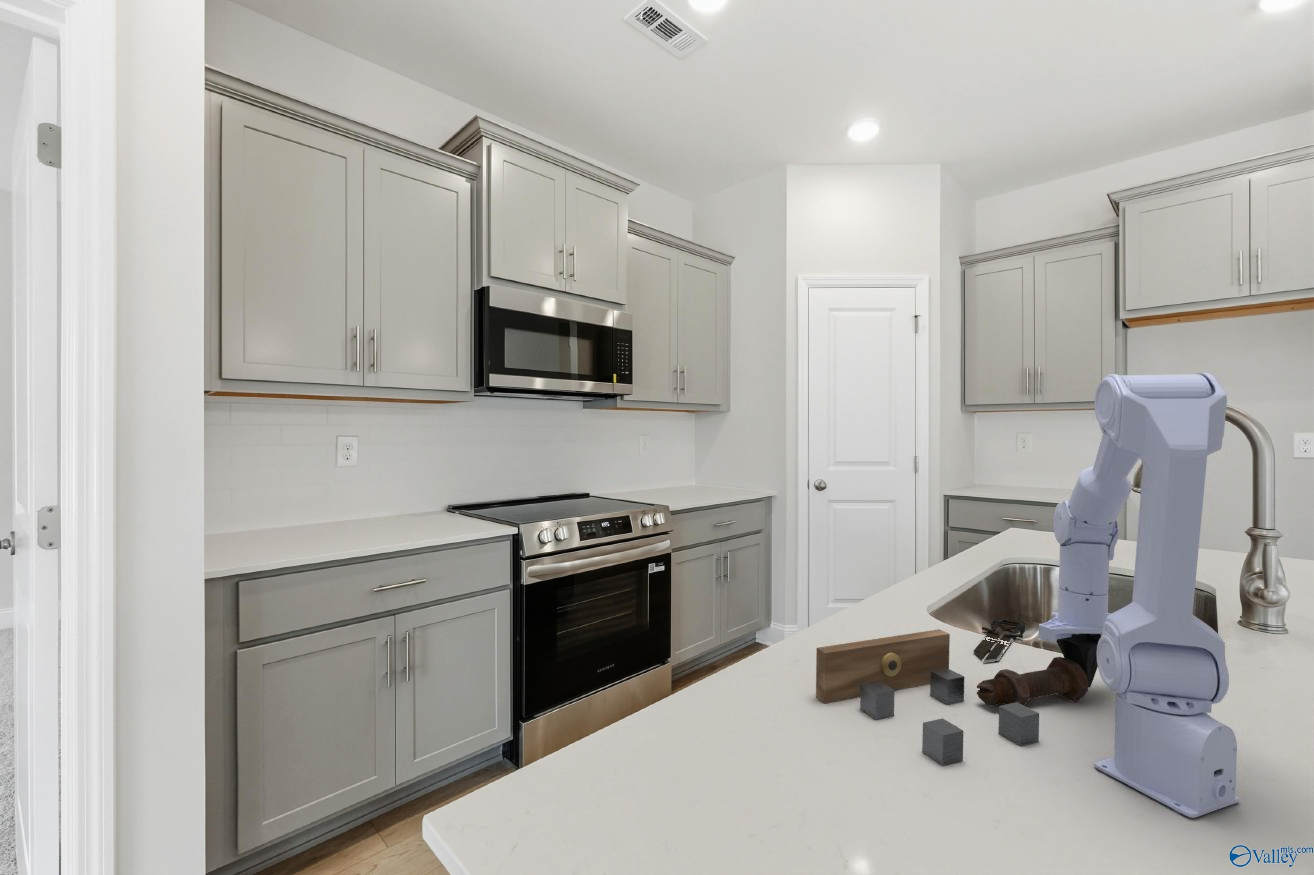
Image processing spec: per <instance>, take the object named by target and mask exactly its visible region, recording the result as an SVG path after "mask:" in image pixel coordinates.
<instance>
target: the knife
mask: <svg viewBox="0 0 1314 875" xmlns="http://www.w3.org/2000/svg"><path fill="white" fill-rule="evenodd" d="M1004 625H1008V626H1009V627H1006V626H1004ZM998 627H999V628H1001V629H1000V630H999V631H1001V632H1005V633H1003V635H1002V636H1001V637H1000V632H999V631H997V628H998ZM981 630H982V632H981V633H983V634H986V635H985V637H990V638H993V639H998V640H1003V641H1007V642H1010V643H1011V644H1012V643H1013V642H1014V641H1019V642H1020V641H1021V642H1022V641H1023V640H1024V638H1023V637H1024V635H1023V634H1024V633H1025V632H1026V623H1025V622H1024V621H1023V620H1020V621H1019V620H1017V619H1014V618H1011V617H999V618H998V619H994V620H993V621H992V622H991V624H990V628H989V627H985V626H981ZM986 631H987V632H986ZM1006 632H1008V633H1006ZM985 637H984V638H985ZM999 638H1000V639H999ZM988 640H990V641H987V640H986V638H985V640H983V639H982V640H981V641H980V642H979V643H978V645H977V646H976V647H975V648H974V649H973V652H974V653H975V654H976V655H977V657H979V658H980V659H981V660H982V659H983V658H984V657H985V656H986V657H985V658H984V660H983V662H982V663H983V664H986V663H994V662H995V661H997V662H1000V660H1001V659H1000V657H1001V655H1002V654H1003V650H1005V647H1008V646H1007V645H1004V642H1003V644H1000V643H1001V641H998V642H999V643H998V642H997V643H996V644H995V643H994V642H991V641H995V640H992V639H988ZM993 643H994V644H995V645H994V644H993ZM1010 643H1006V644H1008V645H1009V644H1010ZM992 645H993V646H992ZM991 646H992V647H991ZM990 647H991V648H992V649H991V648H990ZM989 648H990V649H989ZM1008 648H1009V647H1008ZM988 652H989V653H988ZM985 654H986V655H985ZM1001 658H1002V657H1001Z"/></svg>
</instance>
